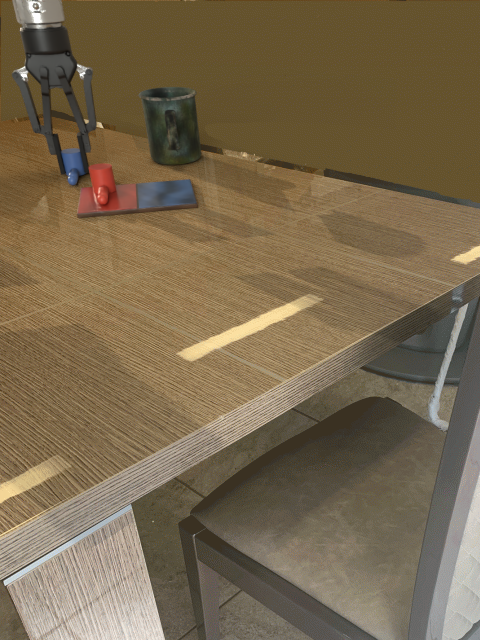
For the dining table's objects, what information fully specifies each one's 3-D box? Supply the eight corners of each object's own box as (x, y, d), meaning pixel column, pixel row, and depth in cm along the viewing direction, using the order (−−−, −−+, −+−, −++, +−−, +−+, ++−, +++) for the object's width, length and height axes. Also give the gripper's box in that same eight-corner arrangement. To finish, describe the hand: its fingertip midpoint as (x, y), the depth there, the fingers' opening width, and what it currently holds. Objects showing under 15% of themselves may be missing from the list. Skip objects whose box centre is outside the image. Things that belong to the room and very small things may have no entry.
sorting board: (77, 218, 102) (76, 213, 101) (81, 191, 112) (80, 187, 112) (197, 207, 105) (197, 203, 105) (190, 182, 116) (190, 178, 116)
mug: (202, 149, 134) (195, 85, 126) (206, 169, 122) (198, 100, 115) (149, 152, 132) (138, 88, 125) (148, 173, 121) (136, 103, 113)
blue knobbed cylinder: (84, 185, 114) (79, 162, 112) (62, 187, 114) (56, 163, 111) (87, 169, 122) (82, 147, 120) (66, 171, 122) (61, 148, 119)
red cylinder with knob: (115, 205, 104) (110, 179, 102) (91, 207, 104) (85, 181, 101) (116, 186, 112) (111, 162, 110) (94, 188, 111) (89, 164, 109)
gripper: (-15, 29, 102) (26, 180, 116) (93, 26, 105) (120, 174, 119) (-8, 24, 107) (31, 169, 122) (95, 21, 111) (120, 163, 125)
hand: (75, 171), depth 120 cm, fingers closed on blue knobbed cylinder, 3 cm apart
